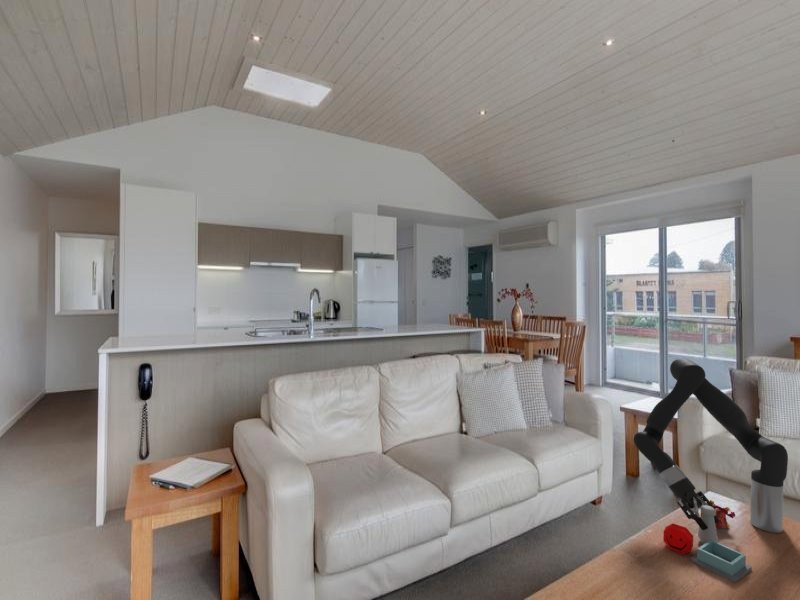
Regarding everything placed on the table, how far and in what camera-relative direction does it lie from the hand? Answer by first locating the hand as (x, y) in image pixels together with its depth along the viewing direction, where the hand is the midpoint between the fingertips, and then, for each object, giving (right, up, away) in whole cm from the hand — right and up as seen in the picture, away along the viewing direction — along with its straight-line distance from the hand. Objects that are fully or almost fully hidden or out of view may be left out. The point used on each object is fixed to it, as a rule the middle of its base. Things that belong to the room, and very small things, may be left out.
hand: (711, 526), depth 146 cm
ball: (-13, -7, -2) cm, 15 cm away
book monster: (+10, -7, +10) cm, 16 cm away
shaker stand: (-5, -7, -11) cm, 14 cm away
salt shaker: (-1, -7, +1) cm, 7 cm away
